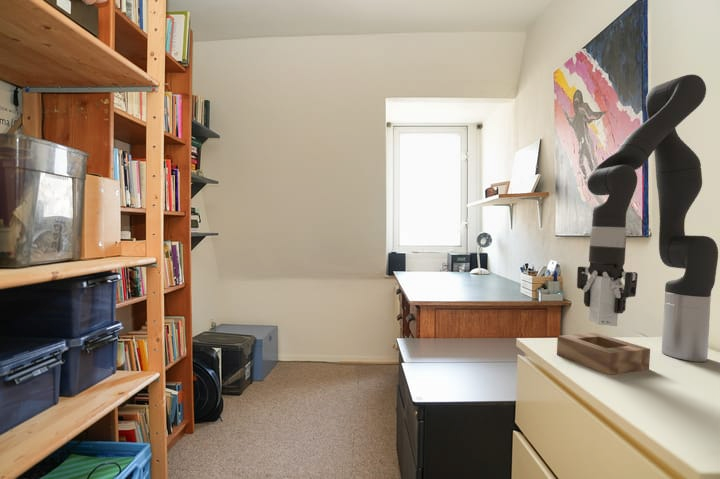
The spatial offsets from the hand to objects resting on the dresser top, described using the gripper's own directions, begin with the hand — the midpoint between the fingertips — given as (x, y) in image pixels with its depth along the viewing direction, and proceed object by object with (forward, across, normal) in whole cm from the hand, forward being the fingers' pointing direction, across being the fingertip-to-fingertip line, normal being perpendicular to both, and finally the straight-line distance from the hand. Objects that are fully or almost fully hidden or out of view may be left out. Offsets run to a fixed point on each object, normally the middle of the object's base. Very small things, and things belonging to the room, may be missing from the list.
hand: (603, 309), depth 90 cm
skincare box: (+4, 0, 0) cm, 4 cm away
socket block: (+13, 0, 0) cm, 13 cm away
